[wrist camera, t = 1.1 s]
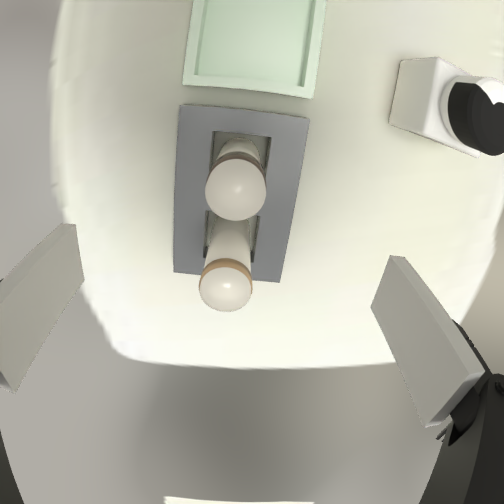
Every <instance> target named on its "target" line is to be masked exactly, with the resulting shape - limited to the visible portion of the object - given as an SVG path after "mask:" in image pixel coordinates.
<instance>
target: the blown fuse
mask: <svg viewBox="0 0 504 504" xmlns="http://www.w3.org/2000/svg"><path fill="white" fill-rule="evenodd" d="M205 196H206V201H207V203H208V205H209V207H210V208H211V209H212V211H213V212H214V213H215V214H217V215H218V216H220V217H222V218H224V219H227V220H232V221H240V220H245V219H248V218H250V217H252V216H253V215H255V214H256V213H257V212H258V211H259V210H260V209H261V207H262V206H263V204H264V201H265V198H266V179H265V175H264V170H263V167H262V166H261V162H260V157H259V152H258V149H257V147H256V146H255V144H254V143H252V142H251V141H250V140H248V139H245V138H234V139H231V140H229V141H228V142H226V143H225V144H224V146H223V147H222V149H221V151H220V153H219V156H218V158H217V160H216V161H215V163H214V164H213V166H212V168H211V170H210V173H209V175H208V177H207V181H206V187H205Z"/></svg>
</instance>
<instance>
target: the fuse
mask: <svg viewBox="0 0 504 504" xmlns="http://www.w3.org/2000/svg"><path fill="white" fill-rule="evenodd" d="M199 291H200V296H201V298H202V300H203V301H204V302H205V304H206V305H208V306H209V307H211V308H212V309H215V310H217V311H222V312H231V311H235V310H238V309H240V308H242V307H243V306H245V305H246V304H247V302H248V301H249V299H250V297H251V294H252V276H251V265H250V226H249V222H248V220H247V219H245V220H240V221H232V220H227V219H224V218H222V217H220V216H218V217H217V218H216V219H215V221H214V225H213V229H212V234H211V238H210V243H209V247H208V251H207V256H206V261H205V265H204V269H203V271H202V274H201V278H200V282H199Z"/></svg>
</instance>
